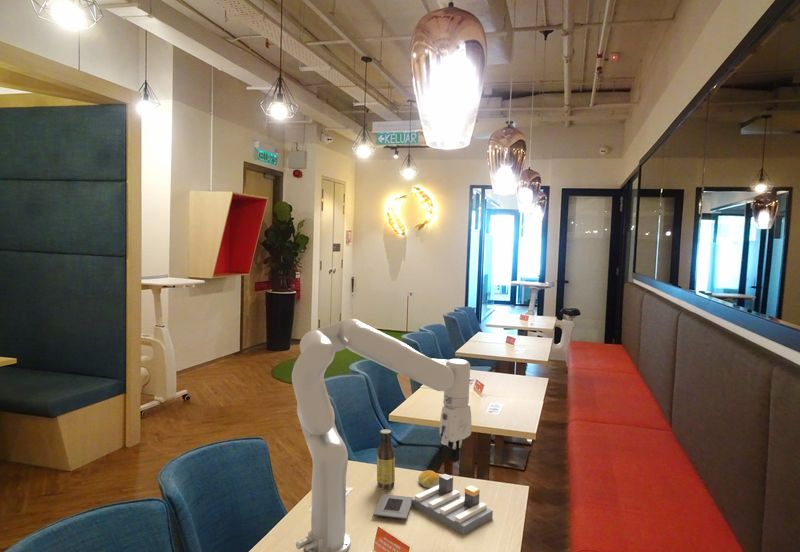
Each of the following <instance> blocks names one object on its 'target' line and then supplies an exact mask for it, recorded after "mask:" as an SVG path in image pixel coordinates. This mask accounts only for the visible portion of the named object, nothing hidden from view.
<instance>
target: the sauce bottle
mask: <svg viewBox="0 0 800 552" xmlns="http://www.w3.org/2000/svg"><path fill="white" fill-rule="evenodd" d="M379 436H380V442H379V443H380V444H379V446H378V447H377V451H376V480H377V481H376V482H377V483H376V485H377V487H378V488H379V489H381V490H391V489H393V488H394V487H395V480H396V478H395V477H396V473H395V470H396V469H395V468H396V466H395V464H396V458H395V457H396V456H395V448H394V446H393V445H392V430H391V429H380V431H379Z"/></svg>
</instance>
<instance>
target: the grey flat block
mask: <svg viewBox="0 0 800 552" xmlns="http://www.w3.org/2000/svg"><path fill="white" fill-rule="evenodd" d="M412 498H414V497H413V496H405V495H404V496H403V495H397V494H395V495H394V494H387V493H382V494H381V496H380V497H379V500H378V502H377V505H376V506H375V509H374V511H373V513H372V515H373V516H374V517H380V518H381V517H382V518H390V519H397V520H407V518H408V516H409V513H410V510H411V507H412V506H411V504H412Z"/></svg>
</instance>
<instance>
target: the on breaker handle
mask: <svg viewBox="0 0 800 552" xmlns="http://www.w3.org/2000/svg"><path fill="white" fill-rule="evenodd" d="M453 484H454V477H453V476H451V475H449V474H447V473H443V474H442V475H440V476H439V493H441V494H443V495H445V494H448V493H450V492H452V491H454V485H453Z"/></svg>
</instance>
